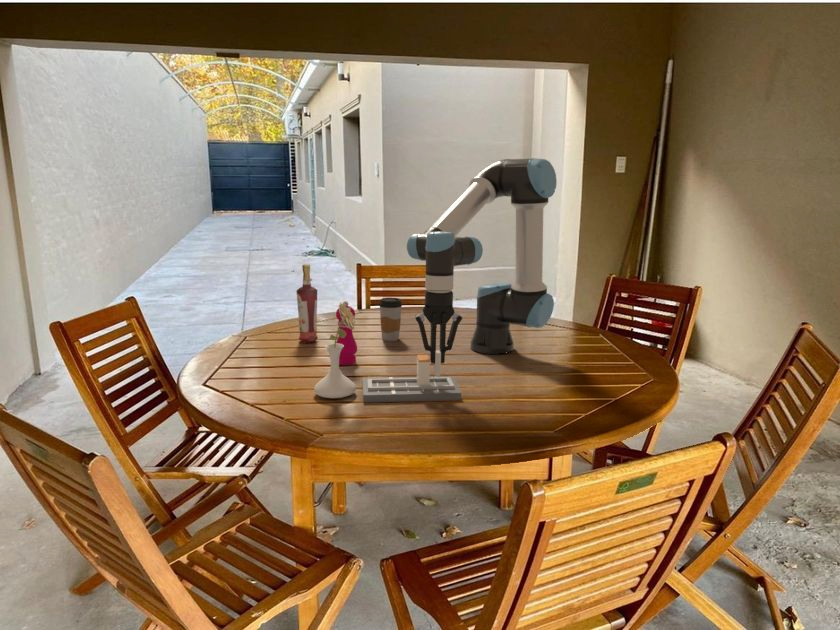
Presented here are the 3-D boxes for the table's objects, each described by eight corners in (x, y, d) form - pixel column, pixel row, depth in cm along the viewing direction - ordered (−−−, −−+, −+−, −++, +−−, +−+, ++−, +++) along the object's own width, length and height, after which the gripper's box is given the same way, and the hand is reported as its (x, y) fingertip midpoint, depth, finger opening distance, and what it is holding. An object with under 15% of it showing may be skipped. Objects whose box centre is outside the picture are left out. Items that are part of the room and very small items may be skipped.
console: (452, 382, 167) (452, 373, 167) (461, 399, 154) (461, 390, 153) (362, 384, 164) (362, 375, 164) (363, 402, 151) (363, 392, 150)
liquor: (321, 342, 208) (320, 265, 202) (302, 345, 204) (300, 266, 198) (313, 338, 214) (311, 263, 208) (294, 340, 210) (292, 264, 204)
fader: (427, 380, 161) (427, 354, 160) (429, 386, 157) (430, 360, 155) (416, 380, 161) (416, 354, 159) (418, 387, 156) (418, 360, 155)
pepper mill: (353, 366, 181) (352, 304, 177) (331, 364, 182) (330, 302, 178) (360, 359, 188) (359, 299, 183) (339, 358, 189) (338, 298, 185)
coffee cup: (405, 337, 216) (405, 298, 213) (395, 343, 209) (395, 302, 205) (385, 335, 219) (386, 296, 216) (375, 340, 212) (375, 300, 209)
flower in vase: (337, 405, 148) (336, 310, 143) (305, 396, 154) (302, 305, 149) (368, 391, 159) (368, 302, 154) (336, 383, 165) (335, 297, 160)
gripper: (460, 287, 158) (457, 369, 163) (413, 287, 156) (412, 370, 161) (465, 292, 151) (462, 378, 156) (416, 292, 149) (415, 379, 154)
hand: (437, 374), depth 159 cm, fingers closed
